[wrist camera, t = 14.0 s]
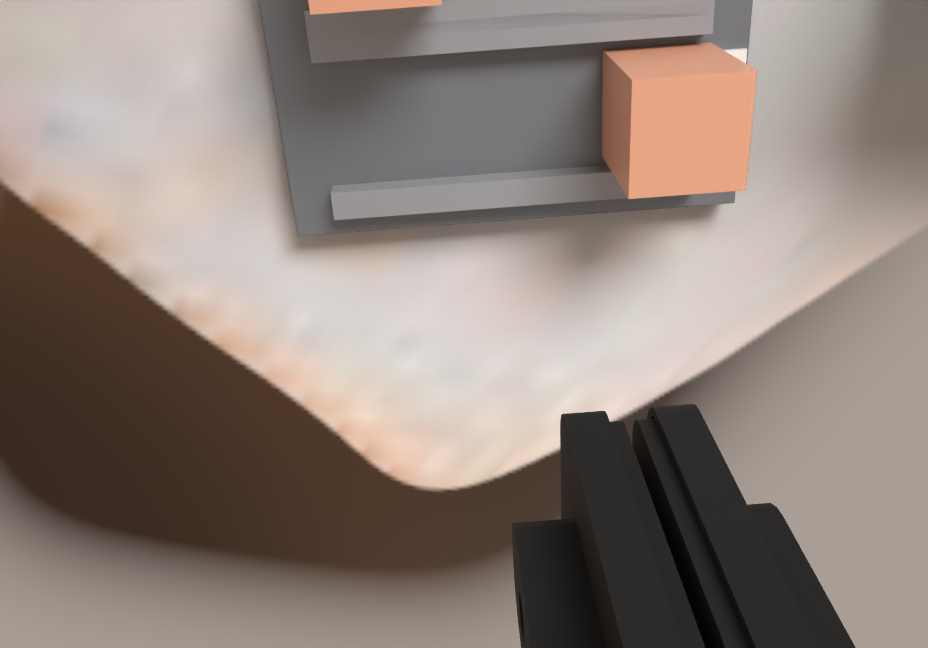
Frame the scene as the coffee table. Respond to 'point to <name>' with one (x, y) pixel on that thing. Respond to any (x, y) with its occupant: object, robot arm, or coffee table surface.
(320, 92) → the switch bank
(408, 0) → the tab
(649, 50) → the orange cube
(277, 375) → the coffee table surface
